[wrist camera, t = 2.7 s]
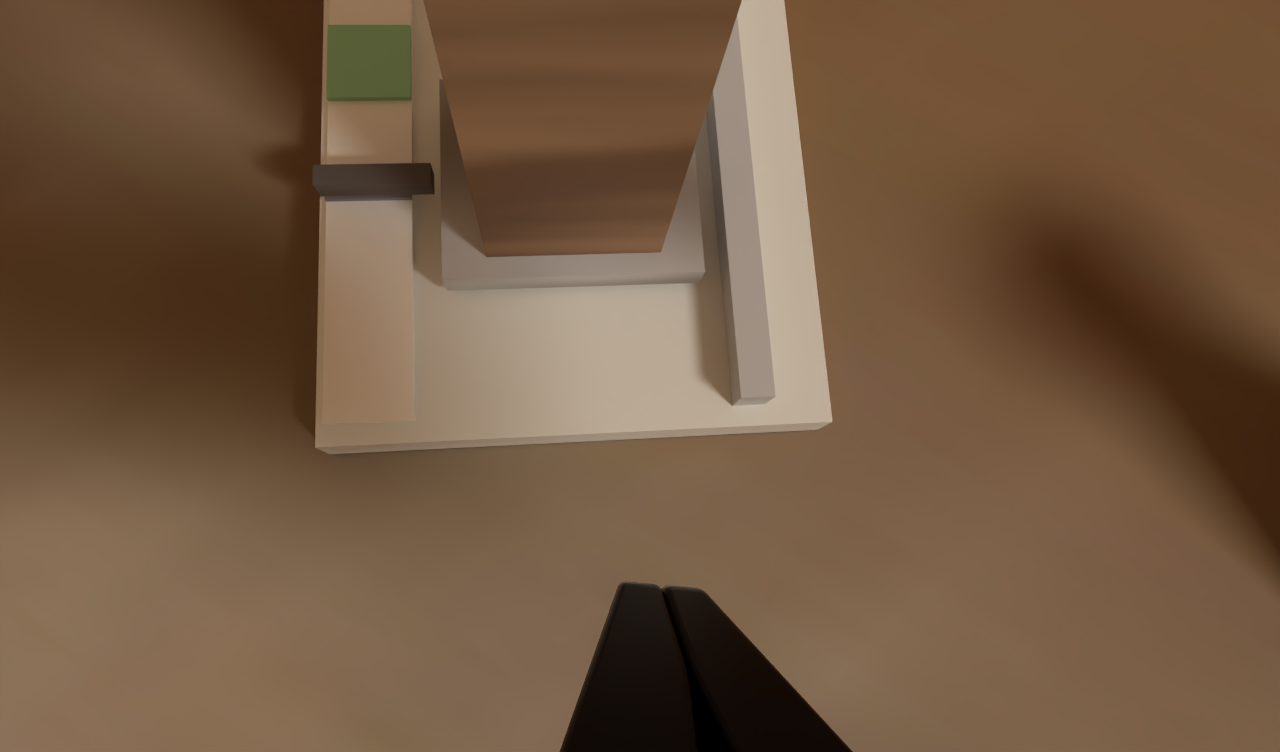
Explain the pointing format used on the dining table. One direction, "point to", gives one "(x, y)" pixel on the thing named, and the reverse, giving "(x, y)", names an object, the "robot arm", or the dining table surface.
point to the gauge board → (560, 316)
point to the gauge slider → (564, 140)
